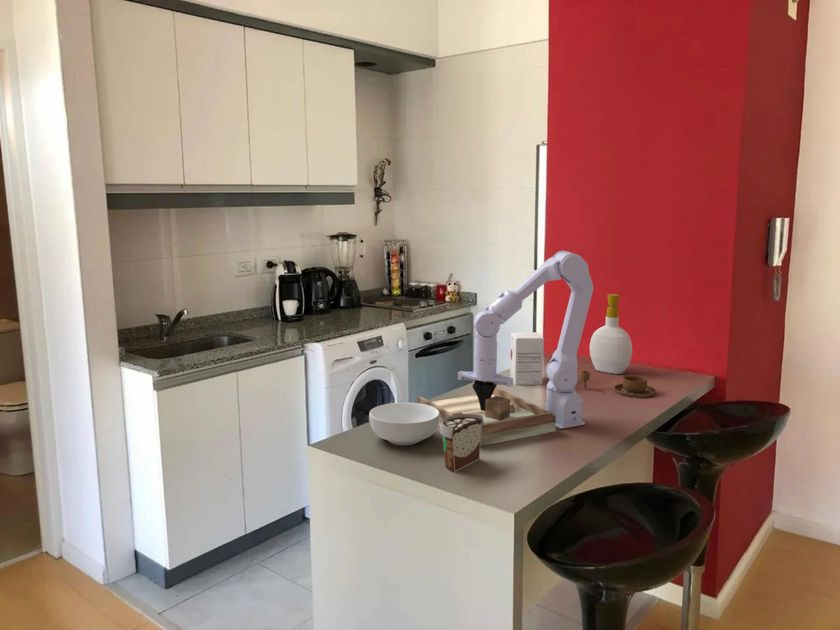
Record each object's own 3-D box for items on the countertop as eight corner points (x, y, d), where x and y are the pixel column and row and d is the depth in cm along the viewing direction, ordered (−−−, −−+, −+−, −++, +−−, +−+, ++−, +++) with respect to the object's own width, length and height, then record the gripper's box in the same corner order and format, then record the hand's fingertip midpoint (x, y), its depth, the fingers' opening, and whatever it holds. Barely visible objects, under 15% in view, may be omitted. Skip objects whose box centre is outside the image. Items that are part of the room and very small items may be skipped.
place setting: (639, 404, 196) (640, 384, 195) (577, 391, 210) (578, 372, 209) (665, 392, 209) (666, 373, 208) (605, 380, 222) (606, 362, 221)
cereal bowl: (451, 435, 170) (451, 408, 169) (417, 457, 156) (417, 427, 154) (393, 423, 178) (393, 397, 177) (355, 443, 164) (355, 415, 163)
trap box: (555, 431, 172) (556, 412, 172) (472, 447, 162) (473, 427, 161) (492, 400, 198) (492, 383, 197) (417, 412, 187) (417, 394, 186)
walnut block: (509, 416, 177) (510, 399, 176) (499, 420, 173) (500, 403, 172) (495, 412, 179) (495, 395, 179) (485, 416, 176) (485, 399, 175)
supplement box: (509, 377, 223) (510, 332, 220) (536, 377, 223) (538, 331, 221) (514, 385, 214) (515, 337, 211) (543, 384, 214) (544, 337, 212)
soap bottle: (635, 372, 230) (640, 294, 225) (625, 377, 223) (630, 298, 218) (595, 365, 238) (598, 290, 234) (584, 370, 231) (587, 293, 227)
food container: (461, 451, 160) (461, 409, 158) (483, 457, 156) (484, 414, 154) (427, 467, 150) (427, 423, 148) (450, 474, 146) (450, 429, 145)
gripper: (517, 358, 177) (516, 409, 179) (465, 352, 183) (464, 401, 186) (508, 364, 171) (506, 417, 173) (454, 357, 177) (454, 408, 179)
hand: (484, 409), depth 179 cm, fingers closed
